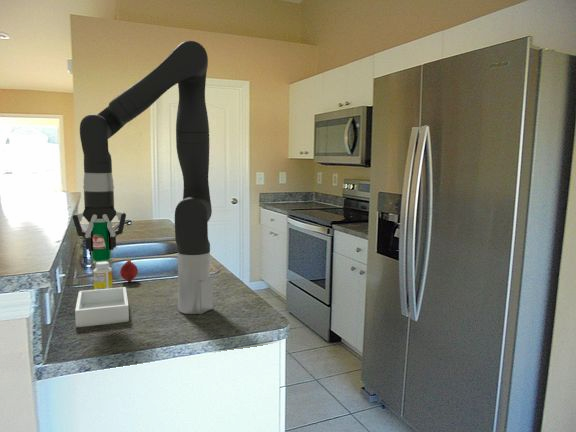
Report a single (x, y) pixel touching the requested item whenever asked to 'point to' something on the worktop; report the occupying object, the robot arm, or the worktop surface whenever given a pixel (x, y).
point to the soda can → (100, 241)
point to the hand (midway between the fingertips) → (101, 249)
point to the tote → (101, 307)
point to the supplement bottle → (102, 276)
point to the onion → (128, 271)
